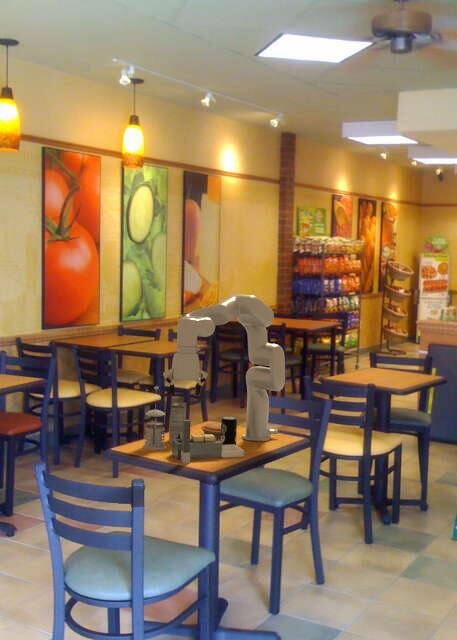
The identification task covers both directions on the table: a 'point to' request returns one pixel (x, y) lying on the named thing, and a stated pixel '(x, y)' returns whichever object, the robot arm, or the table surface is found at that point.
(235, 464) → the table surface
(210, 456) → the slot block
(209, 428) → the pie
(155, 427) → the french press
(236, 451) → the tray
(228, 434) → the beverage can
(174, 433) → the coffee box
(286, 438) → the table surface
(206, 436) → the wooden cube
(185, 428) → the grey rectangular bar
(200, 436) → the tan cube
